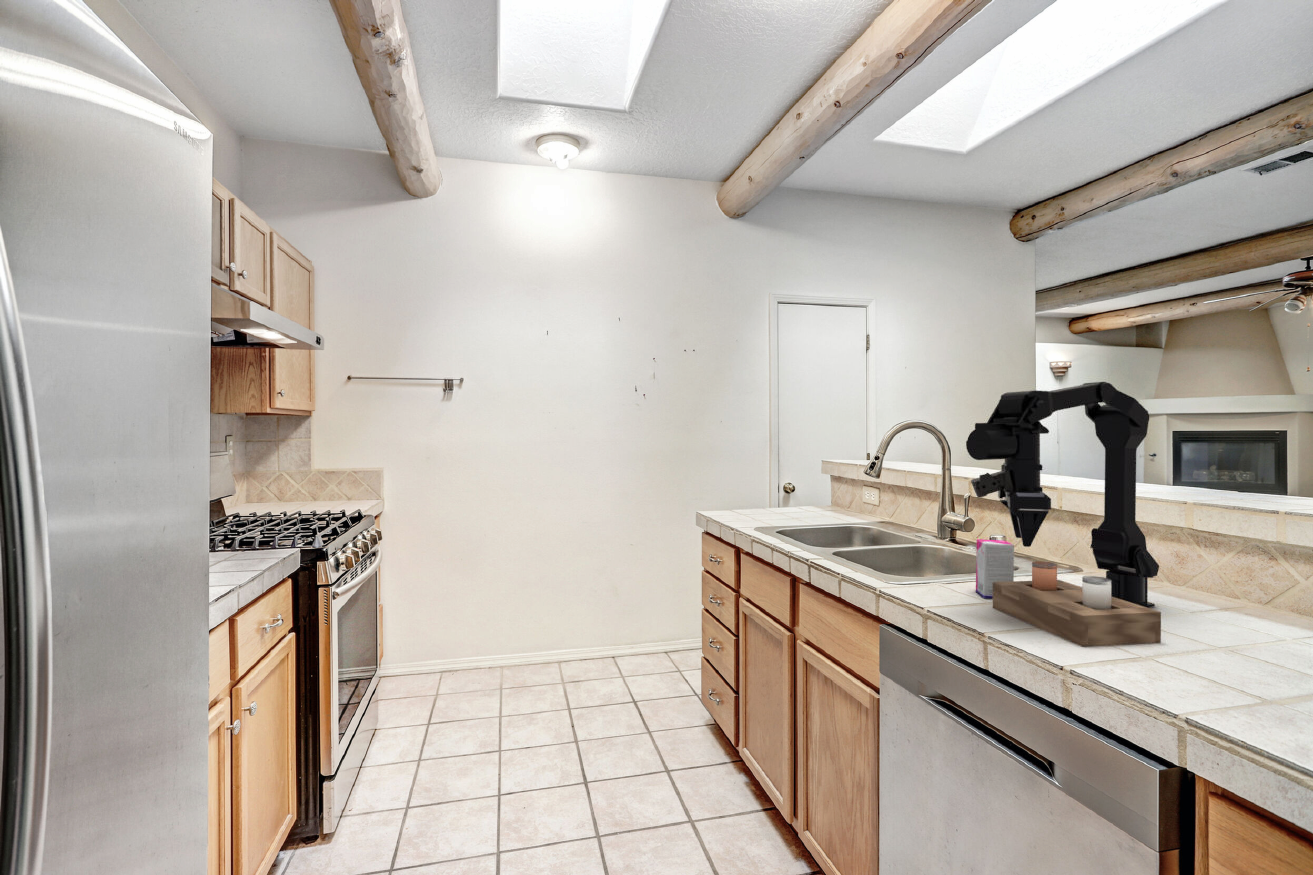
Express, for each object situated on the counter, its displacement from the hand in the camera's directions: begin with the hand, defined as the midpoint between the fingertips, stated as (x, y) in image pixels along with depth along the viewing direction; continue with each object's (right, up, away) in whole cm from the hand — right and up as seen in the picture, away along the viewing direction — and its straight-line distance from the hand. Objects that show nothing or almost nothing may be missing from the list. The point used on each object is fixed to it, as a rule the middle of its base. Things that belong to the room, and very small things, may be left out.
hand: (1022, 541), depth 115 cm
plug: (+6, -10, -10) cm, 16 cm away
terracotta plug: (+5, -10, +1) cm, 11 cm away
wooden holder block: (+6, -14, -4) cm, 16 cm away
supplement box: (+3, -14, +14) cm, 20 cm away
